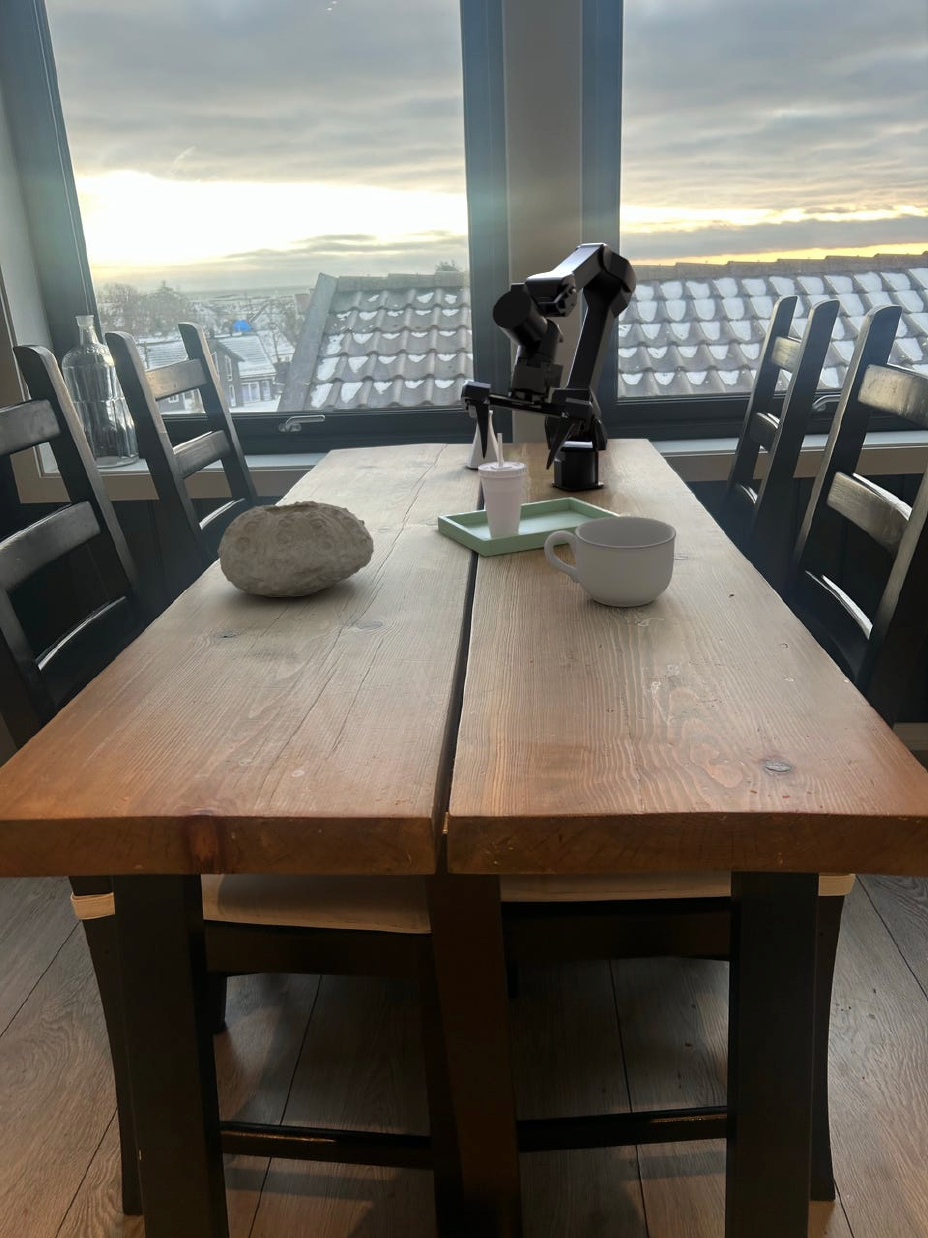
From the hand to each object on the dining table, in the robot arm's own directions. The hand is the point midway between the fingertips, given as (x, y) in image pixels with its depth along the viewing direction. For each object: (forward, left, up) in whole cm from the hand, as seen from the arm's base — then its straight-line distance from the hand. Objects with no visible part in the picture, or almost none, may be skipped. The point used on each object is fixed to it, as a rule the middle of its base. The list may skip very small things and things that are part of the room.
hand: (515, 463), depth 143 cm
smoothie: (+7, +10, -8) cm, 14 cm away
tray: (+2, +8, -8) cm, 11 cm away
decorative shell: (+37, +16, -8) cm, 41 cm away
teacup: (+8, +38, -8) cm, 39 cm away
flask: (-13, -39, -8) cm, 42 cm away
